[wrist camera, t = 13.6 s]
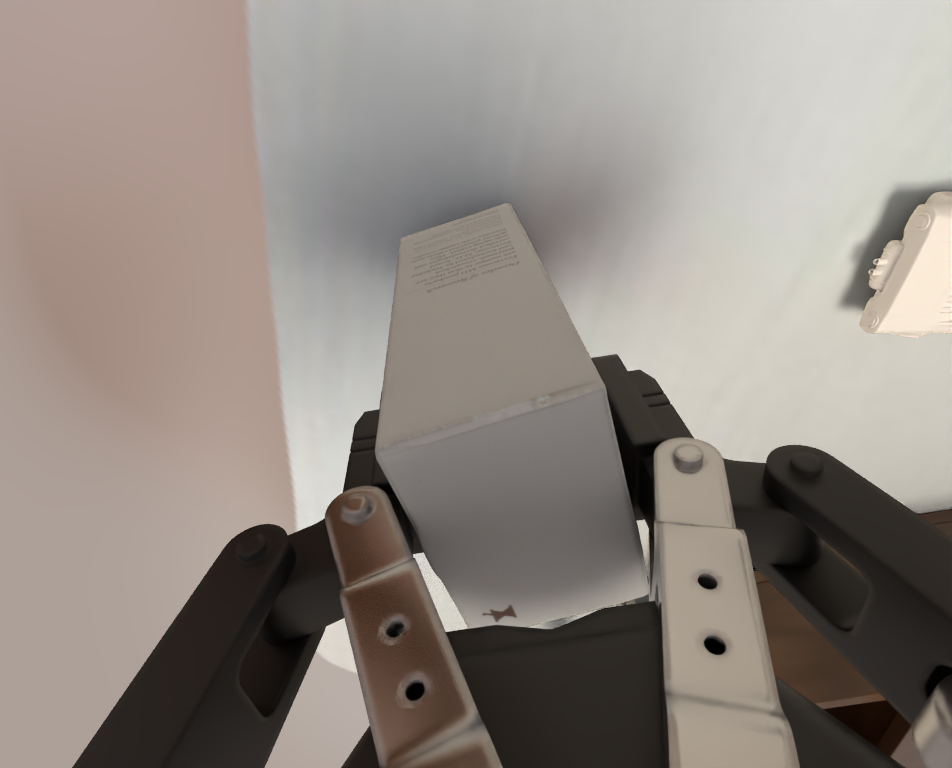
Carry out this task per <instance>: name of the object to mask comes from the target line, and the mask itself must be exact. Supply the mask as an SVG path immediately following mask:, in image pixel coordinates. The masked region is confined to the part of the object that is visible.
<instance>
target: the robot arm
mask: <svg viewBox="0 0 952 768" xmlns="http://www.w3.org/2000/svg"><path fill="white" fill-rule="evenodd" d="M591 359H592V361H593V363H594V365H595V367H596V369H597V371H598V373H599V375H600V377H601V379H602V381H603V383H604V384H605V387H606V392H607V398H608V402H609V407H610V411H611V416H612V420H613V424H614V429H615V434H616V438H617V442H618V447H619V451H620V456H621V460H622V465H623V469H624V474H625V478H626V483H627V487H628V491H629V495H630V499H631V503H632V507H633V511H634V515H635V519H636V521H637V520H643V519H645V521H646V523H647V525H648V528H649V534H648V571H649V602H643V603H636V604H629V605H623V606H616V607H610V608H603V609H601V610H598V611H596V612H594V613H591V614H589V615H587V616H584V617H582V618H580V619H577V620H575V621H572V622H570V623H568V624H565V625H563V626H561V627H558V628H555V629H538V628H527V627H517V626H506V625H491V626H484V627H477V628H471V629H464V630H458V631H451V632H445V630H444V627H443V625H442V622H441V620H440V617H439V615H438V613H437V610H436V608H435V605H434V603H433V600H432V598H431V595H430V593H429V591H428V588H427V586H426V583H425V581H424V578H423V576H422V574H421V571H420V569H419V566H418V564H417V562H416V560H415V558H413V554H416V553H422V552H424V551H423V549H422V546H421V544H420V541H419V538H418V536H417V534H416V532H415V529H414V527H413V525H412V524H411V522H410V520H409V518H408V516H407V514H406V513H405V511H404V509H403V507H402V505H401V503H400V501H399V500H398V498H397V496H396V494H395V492H394V491H393V489H392V487H391V485H390V483H389V481H388V480H387V478H386V476H385V474H384V472H383V470H382V469H381V467H380V465H379V463H378V461H377V459H376V454H375V446H376V438H377V430H378V423H379V415H380V409H379V410H373V411H367V412H364V414H363V415H362V416H361V418H360V419H359V420H358V422H357V423H356V424H355V427H354V433H353V438H352V440H353V442H352V444H351V449H350V451H351V453H350V455H349V461H348V466H347V472H346V477H345V483H344V489H343V493H342V494H340V495H339V496H338V497H336V498H335V499H334V500H333V501H332V502H331V504H330V505H329V506H328V508H327V510H326V513H325V518H324V519H323V520H322V521H320V522H318V523H316V524H314V525H312V526H310V527H307V528H305V529H303V530H300V531H298V532H295V533H293V534H291V535H287V533H286V531H285V530H284V529H283V528H281V527H280V526H277V525H273V524H264V525H258V526H254V527H252V528H249V529H247V530H245V531H243V532H241V533H240V534H238V535H237V536H235V537H234V538H233V539H232V540H231V541H230V542H229V543H228V544H227V545H226V546H225V548H224V549H223V551H222V552H221V554H220V555H219V556H218V558H217V559H216V560H215V562H214V563H213V565H212V566H211V568H210V569H209V571H208V572H207V574H206V575H205V576H204V578H203V579H202V581H201V582H200V584H199V585H198V587H197V588H196V590H195V591H194V592H193V594H192V595H191V597H190V598H189V600H188V601H187V603H186V604H185V605H184V607H183V609H182V610H181V611H180V613H179V614H178V615H177V617H176V619H175V620H174V621H173V623H172V624H171V626H170V627H169V628H168V630H167V631H166V633H165V634H164V636H163V637H162V639H161V640H160V641H159V643H158V645H157V646H156V647H155V649H154V650H153V652H152V653H151V655H150V656H149V657H148V659H147V660H146V662H145V663H144V665H143V666H142V668H141V669H140V671H139V672H138V673H137V675H136V676H135V678H134V679H133V681H132V682H131V684H130V685H129V686H128V688H127V689H126V691H125V692H124V694H123V695H122V697H121V698H120V699H119V701H118V702H117V704H116V705H115V707H114V708H113V710H112V711H111V712H110V714H109V716H108V717H107V718H106V720H105V721H104V722H103V724H102V725H101V727H100V728H99V730H98V731H97V733H96V734H95V736H94V737H93V738H92V740H91V741H90V743H89V744H88V746H87V747H86V749H85V750H84V752H83V753H82V754H81V756H80V757H79V759H78V760H77V762H76V763H75V765H74V766H73V767H72V768H264V767H265V765H266V763H267V761H268V758H269V756H270V754H271V752H272V749H273V747H274V745H275V742H276V740H277V738H278V736H279V733H280V731H281V729H282V726H283V724H284V722H285V720H286V717H287V715H288V713H289V711H290V708H291V706H292V704H293V701H294V699H295V697H296V695H297V692H298V690H299V688H300V686H301V683H302V681H303V679H304V676H305V674H306V672H307V669H308V667H309V665H310V663H311V661H312V658H313V656H314V654H315V651H316V649H317V647H318V645H319V642H320V640H321V638H322V636H323V633H324V631H325V628H326V626H328V625H330V624H332V623H334V622H336V621H338V620H340V619H343V618H345V622H346V626H347V630H348V634H349V638H350V643H351V647H352V651H353V655H354V659H355V664H356V668H357V672H358V676H359V680H360V685H361V689H362V693H363V697H364V701H365V705H366V710H367V714H368V718H369V723H370V726H369V727H368V729H367V730H366V732H365V733H364V735H363V736H362V738H361V739H360V741H359V742H358V744H357V745H356V747H355V748H354V749H353V751H352V752H351V754H350V756H349V757H348V758H347V760H346V761H345V763H344V764H343V766H342V767H341V768H906V767H904V766H903V765H901V764H900V763H898V762H897V761H896V760H894V759H893V758H891V757H890V756H888V755H887V754H886V753H884V752H883V751H881V750H880V749H879V748H877V747H876V746H874V745H873V744H871V743H870V742H869V741H867V740H866V739H864V738H863V737H862V736H860V735H859V734H857V733H856V732H854V731H853V730H852V729H850V728H849V727H847V726H846V725H845V724H843V723H842V722H840V721H839V720H837V719H836V718H835V717H833V716H832V715H830V714H829V713H828V712H826V711H825V710H823V709H822V708H820V707H819V706H818V705H816V704H815V703H813V702H812V701H811V700H809V699H808V698H806V697H805V696H803V695H802V694H801V693H799V692H798V691H796V690H795V689H794V688H792V687H791V686H789V685H788V684H786V683H785V682H784V681H782V680H781V679H779V678H778V677H777V676H775V675H774V671H773V666H772V661H771V656H770V651H769V646H768V641H767V636H766V631H765V626H764V621H763V616H762V611H761V606H760V601H759V596H758V591H757V586H756V581H755V576H754V571H753V566H754V567H755V568H756V569H757V570H758V571H759V572H760V573H761V574H762V575H763V576H764V577H765V578H766V579H767V580H768V581H769V582H770V583H771V584H772V585H773V586H774V587H775V588H776V589H777V590H778V591H779V592H780V593H781V594H782V595H783V596H784V597H785V598H786V599H787V600H788V601H789V602H790V603H791V604H792V605H793V606H794V607H795V608H796V609H797V610H798V611H799V612H800V613H801V615H802V616H803V617H804V618H805V619H806V620H807V621H808V622H809V623H810V624H811V625H812V626H813V627H814V628H815V629H816V630H817V631H818V632H819V633H820V634H821V635H822V636H823V637H824V638H825V639H826V640H827V641H828V642H829V643H830V644H831V645H832V646H833V647H834V648H835V649H836V650H837V651H838V652H839V653H840V654H841V655H842V656H843V657H844V658H845V659H846V660H847V661H848V662H849V663H850V664H851V665H852V666H853V667H854V668H855V669H856V670H857V671H858V672H859V673H860V674H861V675H862V676H863V677H864V678H865V679H866V680H867V681H868V682H869V683H870V684H871V685H872V686H873V687H874V688H875V689H876V690H877V691H878V692H879V693H880V694H881V695H882V696H883V697H884V698H885V699H886V700H887V701H888V702H889V703H890V704H891V705H892V706H893V707H894V708H895V709H896V710H897V711H898V712H899V713H900V714H901V715H902V716H903V717H904V718H905V719H906V720H907V721H908V722H909V723H910V724H911V726H912V740H913V743H914V746H915V749H916V751H917V753H918V755H919V757H920V759H921V760H922V762H923V763H924V765H925V766H926V767H927V768H952V538H951V537H950V536H948V535H947V534H945V533H944V532H942V531H941V530H940V529H938V528H937V527H935V526H934V525H932V524H931V523H929V522H928V521H926V520H925V519H923V518H922V517H921V516H919V515H918V514H916V513H915V512H913V511H912V510H910V509H909V508H907V507H906V506H904V505H903V504H901V503H900V502H899V501H897V500H896V499H894V498H893V497H891V496H890V495H888V494H887V493H885V492H884V491H882V490H881V489H880V488H878V487H877V486H875V485H874V484H872V483H871V482H869V481H868V480H866V479H865V478H863V477H862V476H860V475H859V474H858V473H856V472H855V471H853V470H852V469H850V468H849V467H847V466H846V465H844V464H843V463H841V462H840V461H839V460H837V459H836V458H834V457H833V456H831V455H829V454H828V453H826V452H823V451H821V450H819V449H816V448H812V447H808V446H802V445H787V446H782V447H779V448H776V449H774V450H773V451H772V452H771V453H770V454H769V455H768V457H767V461H766V463H755V462H742V461H733V460H728V459H724V458H723V457H722V455H721V454H720V452H719V451H718V450H717V449H716V448H714V447H713V446H712V445H710V444H708V443H706V442H704V441H701V440H698V439H694V437H693V436H692V434H691V433H690V431H689V430H688V428H687V427H686V425H685V424H684V422H683V421H682V419H681V418H680V416H679V415H678V413H677V412H676V410H675V409H674V407H673V406H672V404H671V405H670V401H669V400H668V398H667V396H666V395H665V394H664V393H663V390H662V389H661V387H660V386H659V384H658V383H657V381H656V380H655V379H654V378H652V377H651V376H649V375H648V374H646V373H644V372H643V371H641V370H635V371H627V370H626V368H625V366H624V364H623V363H622V361H621V359H620V358H619V356H618V355H617V354H614V355H608V356H601V357H595V358H591ZM381 398H382V393H381ZM380 406H381V400H380ZM825 542H826V543H827V544H828V545H830V546H831V547H832V548H833V549H834V550H836V551H837V552H838V553H839V554H840V555H842V556H843V557H844V558H845V559H846V560H848V561H849V562H850V563H851V564H852V565H853V566H855V567H856V568H857V569H858V570H859V571H860V572H861V574H862V575H863V576H862V575H861V574H859V573H858V572H857V571H856V570H855V569H854V568H852V567H851V566H850V565H849V564H848V563H846V562H845V561H844V560H843V559H842V558H841V557H839V556H838V555H837V554H836V553H835V552H833V551H832V550H831V549H830V548H829V547H828V546H826V545H825ZM752 565H753V566H752Z"/></svg>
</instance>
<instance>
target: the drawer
mask: <svg viewBox="0 0 952 768" xmlns="http://www.w3.org/2000/svg"><path fill="white" fill-rule="evenodd" d="M754 576H755V581H756V586H757V591H758V596H759V601H760V606H761V611H762V616H763V621H764V626H765V631H766V636H767V641H768V646H769V651H770V656H771V661H772V666H773V671H774V675H775V676H777V677H778V678H779V679H781V680H782V681H784V682H785V683H786V684H788V685H789V686H791V687H792V688H794V689H795V690H796V691H798V692H799V693H801V694H802V695H803V696H805V697H806V698H808V699H809V700H811V701H812V702H813V703H815V704H816V705H818V706H819V707H820V708H822V709H823V710H825V711H826V712H828V713H829V714H830V715H832V716H833V717H835V718H836V719H837V720H839V721H840V722H842V723H843V724H845V725H846V726H847V727H849V728H850V729H852V730H853V731H854V732H856V733H857V734H859V735H860V736H862V737H863V738H864V739H866V740H867V741H869V742H870V743H871V744H873V745H874V746H877V744H878V743H879V741H880V739H881V738H882V736H883V735H884V733H885V732H886V730H887V728H888V727H889V725H890V724H891V722H892V720H893V719H894V717H895V716H896V714H897V713H898V711H897V710H896V709H895V708H894V707H893V706H892V705H891V704H890V703H889V702H888V701H887V700H886V699H885V698H884V697H883V696H882V695H881V694H880V693H879V692H878V691H877V690H876V689H875V688H874V687H873V686H872V685H871V684H870V683H869V682H868V681H867V680H866V679H865V678H864V677H863V676H862V675H861V674H860V673H859V672H858V671H857V670H856V669H855V668H854V667H853V666H852V665H851V664H850V663H849V662H848V661H847V660H846V659H845V658H844V657H843V656H842V655H841V654H840V653H839V652H838V651H837V650H836V649H835V648H834V647H833V646H832V645H831V644H830V643H829V642H828V641H827V640H826V639H825V638H824V637H823V636H822V635H821V634H820V633H819V632H818V631H817V630H816V629H815V628H814V627H813V626H812V625H811V624H810V623H809V622H808V621H807V620H806V619H805V618H804V617H803V616H802V615H801V613H800V612H799V611H798V610H797V609H796V608H795V607H794V606H793V605H792V604H791V603H790V602H789V601H788V600H787V599H786V598H785V597H784V596H783V595H782V594H781V593H780V592H779V591H778V590H777V589H776V588H775V587H774V586H773V585H772V584H771V583H770V582H769V581H768V580H767V579H766V578H765V577H764V576H763V575H762V574H761V573H760V572H759V571H754ZM647 579H648V577H647ZM648 584H649V579H648ZM643 602H649V593H648V594H647V595H645V596H643V597H640V598H636V599H633V600H630V601H627V602H626V605H629V604H636V603H643Z"/></svg>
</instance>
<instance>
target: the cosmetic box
mask: <svg viewBox="0 0 952 768" xmlns="http://www.w3.org/2000/svg"><path fill="white" fill-rule="evenodd" d="M375 454H376V459H377V461H378V463H379V465H380V467H381V469H382V470H383V472H384V474H385V476H386V478H387V480H388V481H389V483H390V485H391V487H392V489H393V491H394V492H395V494H396V496H397V498H398V500H399V501H400V503H401V505H402V507H403V509H404V511H405V513H406V514H407V516H408V518H409V520H410V522H411V524H412V525H413V527H414V529H415V532H416V534H417V536H418V538H419V541H420V544H421V546H422V549H423V551H424V554H425V556H426V558H427V560H428V562H429V564H430V565H431V567H432V569H433V571H434V572H435V574H436V575H437V576H438V577H439V578H440V579H441V581H442V582H443V584H444V585H445V587H446V589H447V591H448V593H449V594H450V596H451V598H452V599H453V601H454V603H455V605H456V606H457V608H458V610H459V612H460V614H461V615H462V617H463V619H464V621H465V623H466V624H467V626H468V628H469V629H471V628H477V627H484V626H491V625H506V626H517V627H529V626H532V625H537V624H541V623H545V622H549V621H553V620H557V619H561V618H566V617H570V616H574V615H577V614H581V613H585V612H590V611H594V610H598V609H602V608H605V607H609V606H613V605H616V604H620V603H623V602H627V601H630V600H633V599H636V598H640V597H643V596H645V595H647V594H648V593H649V584H648V579H647V574H646V568H645V562H644V556H643V550H642V545H641V540H640V535H639V531H638V526H637V522H636V519H635V515H634V511H633V507H632V503H631V499H630V495H629V491H628V487H627V483H626V478H625V474H624V469H623V465H622V460H621V456H620V451H619V447H618V442H617V438H616V434H615V429H614V424H613V420H612V416H611V411H610V407H609V402H608V398H607V392H606V387H605V384H604V383H603V381H602V379H601V377H600V375H599V373H598V371H597V369H596V367H595V365H594V363H593V361H592V359H591V357H590V355H589V353H588V352H587V350H586V348H585V346H584V344H583V342H582V340H581V338H580V336H579V334H578V332H577V330H576V329H575V327H574V325H573V323H572V321H571V319H570V317H569V315H568V313H567V311H566V309H565V307H564V305H563V303H562V301H561V299H560V297H559V295H558V293H557V291H556V289H555V288H554V286H553V284H552V282H551V280H550V278H549V276H548V274H547V272H546V270H545V268H544V266H543V264H542V262H541V260H540V258H539V257H538V255H537V253H536V251H535V249H534V247H533V245H532V243H531V241H530V239H529V237H528V235H527V234H526V232H525V230H524V228H523V226H522V224H521V222H520V220H519V218H518V216H517V215H516V213H515V211H514V209H513V207H512V205H511V204H510V203H505V204H501V205H498V206H495V207H493V208H490V209H487V210H484V211H481V212H479V213H476V214H472V215H469V216H467V217H464V218H460V219H457V220H454V221H451V222H448V223H444V224H441V225H438V226H435V227H432V228H429V229H426V230H423V231H420V232H417V233H414V234H411V235H408V236H405V237H403V238H401V240H400V246H399V255H398V264H397V273H396V281H395V289H394V297H393V305H392V313H391V322H390V330H389V339H388V348H387V355H386V364H385V371H384V381H383V388H382V398H381V406H380V415H379V423H378V430H377V438H376V446H375Z"/></svg>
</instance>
